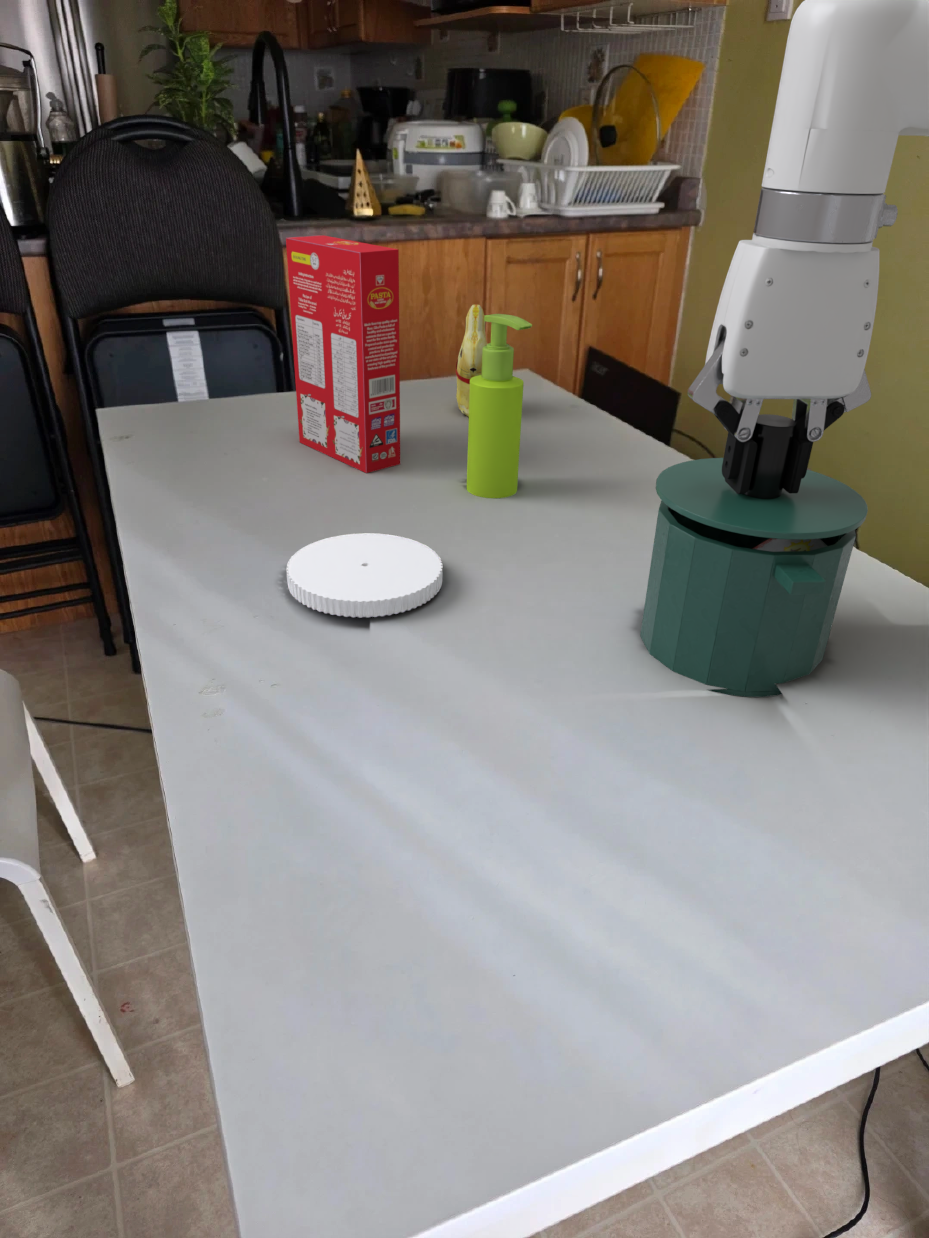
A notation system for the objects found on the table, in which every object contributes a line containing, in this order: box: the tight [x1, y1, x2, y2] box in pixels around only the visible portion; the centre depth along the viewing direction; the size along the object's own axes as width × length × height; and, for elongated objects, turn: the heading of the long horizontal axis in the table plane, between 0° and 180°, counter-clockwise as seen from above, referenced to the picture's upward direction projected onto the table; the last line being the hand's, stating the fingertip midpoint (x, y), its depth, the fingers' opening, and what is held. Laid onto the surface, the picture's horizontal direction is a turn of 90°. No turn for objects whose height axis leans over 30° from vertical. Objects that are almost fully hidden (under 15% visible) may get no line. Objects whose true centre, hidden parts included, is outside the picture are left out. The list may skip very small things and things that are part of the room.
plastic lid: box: [285, 532, 444, 618], centre depth 80 cm, size 14×14×2 cm
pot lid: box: [655, 413, 869, 540], centre depth 66 cm, size 15×15×7 cm
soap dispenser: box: [466, 313, 533, 499], centre depth 97 cm, size 6×7×20 cm
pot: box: [639, 499, 857, 698], centre depth 71 cm, size 14×20×12 cm
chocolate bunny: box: [455, 304, 488, 418], centre depth 128 cm, size 7×11×15 cm, turn 178°
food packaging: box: [285, 234, 401, 474], centre depth 107 cm, size 15×5×25 cm, turn 42°
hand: (760, 485), depth 67 cm, fingers closed on pot lid, 3 cm apart
